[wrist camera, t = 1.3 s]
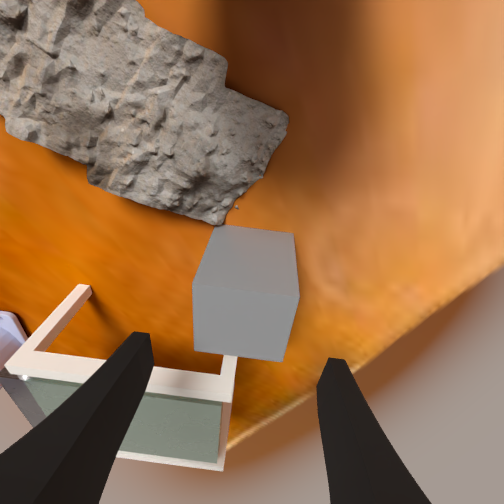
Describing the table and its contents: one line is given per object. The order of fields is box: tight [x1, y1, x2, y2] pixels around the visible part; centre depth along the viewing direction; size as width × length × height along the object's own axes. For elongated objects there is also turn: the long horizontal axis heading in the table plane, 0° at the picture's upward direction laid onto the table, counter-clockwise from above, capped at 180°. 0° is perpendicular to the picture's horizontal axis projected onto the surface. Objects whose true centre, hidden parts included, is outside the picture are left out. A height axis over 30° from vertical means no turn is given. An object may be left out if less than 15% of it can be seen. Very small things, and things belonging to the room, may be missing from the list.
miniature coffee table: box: [4, 284, 238, 471], centre depth 20 cm, size 12×11×6 cm
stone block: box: [192, 224, 300, 362], centre depth 15 cm, size 5×5×6 cm
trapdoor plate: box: [0, 367, 223, 464], centre depth 18 cm, size 12×8×2 cm
